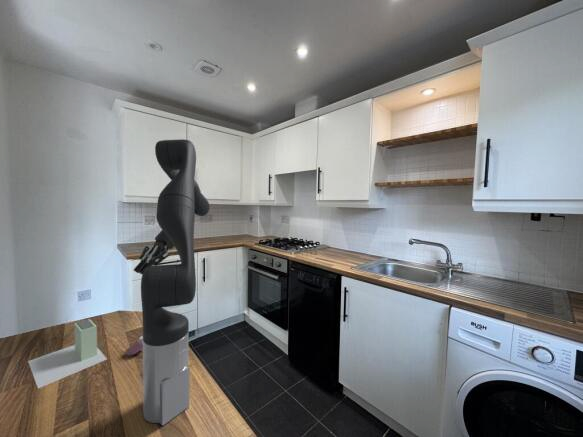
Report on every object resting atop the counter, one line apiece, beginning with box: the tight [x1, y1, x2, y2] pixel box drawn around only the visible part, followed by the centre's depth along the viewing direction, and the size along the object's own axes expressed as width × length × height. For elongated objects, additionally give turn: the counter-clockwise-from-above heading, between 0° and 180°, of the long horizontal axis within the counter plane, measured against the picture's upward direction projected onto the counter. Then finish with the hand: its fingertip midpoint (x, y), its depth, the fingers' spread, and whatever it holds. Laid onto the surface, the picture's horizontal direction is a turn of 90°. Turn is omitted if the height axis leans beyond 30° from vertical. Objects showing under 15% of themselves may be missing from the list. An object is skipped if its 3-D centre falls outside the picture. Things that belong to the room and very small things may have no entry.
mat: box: [27, 344, 108, 389], centre depth 68 cm, size 16×14×1 cm
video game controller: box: [125, 333, 143, 357], centre depth 75 cm, size 10×5×7 cm, turn 179°
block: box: [73, 318, 98, 361], centre depth 71 cm, size 7×4×9 cm, turn 54°
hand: (138, 272), depth 82 cm, fingers open, 2 cm apart
